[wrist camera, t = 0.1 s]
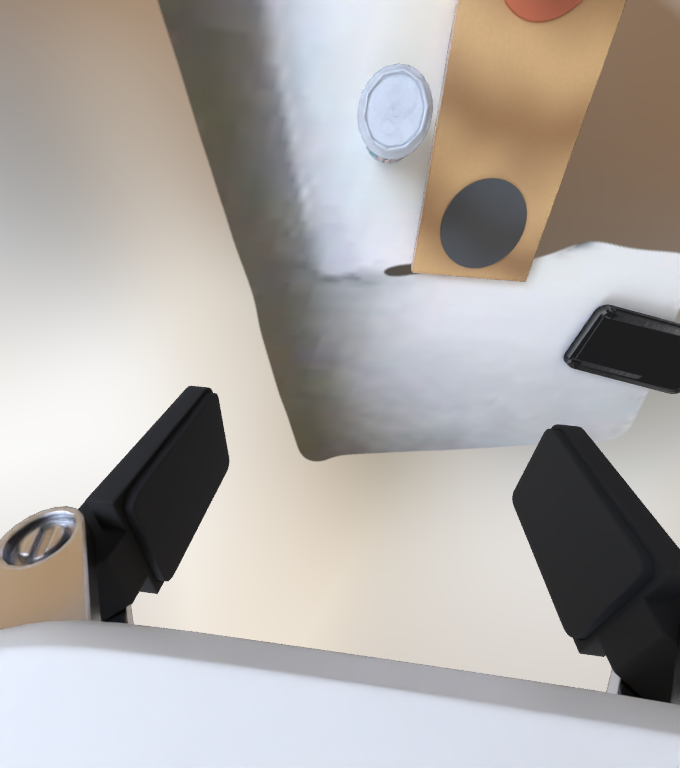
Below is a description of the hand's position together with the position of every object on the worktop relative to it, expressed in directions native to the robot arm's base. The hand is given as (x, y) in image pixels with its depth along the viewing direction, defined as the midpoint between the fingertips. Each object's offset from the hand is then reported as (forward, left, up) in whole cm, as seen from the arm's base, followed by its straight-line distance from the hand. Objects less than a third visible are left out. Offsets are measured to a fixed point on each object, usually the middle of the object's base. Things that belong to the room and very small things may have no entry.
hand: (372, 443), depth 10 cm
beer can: (-10, 0, -31) cm, 33 cm away
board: (-12, +10, -31) cm, 35 cm away
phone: (+9, +32, -31) cm, 46 cm away
